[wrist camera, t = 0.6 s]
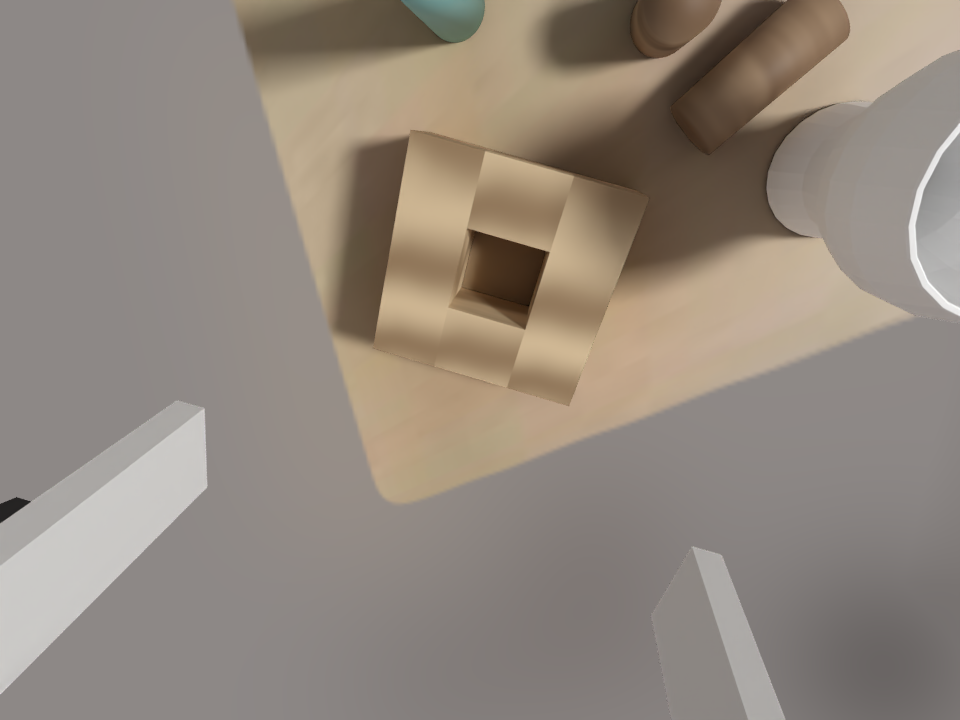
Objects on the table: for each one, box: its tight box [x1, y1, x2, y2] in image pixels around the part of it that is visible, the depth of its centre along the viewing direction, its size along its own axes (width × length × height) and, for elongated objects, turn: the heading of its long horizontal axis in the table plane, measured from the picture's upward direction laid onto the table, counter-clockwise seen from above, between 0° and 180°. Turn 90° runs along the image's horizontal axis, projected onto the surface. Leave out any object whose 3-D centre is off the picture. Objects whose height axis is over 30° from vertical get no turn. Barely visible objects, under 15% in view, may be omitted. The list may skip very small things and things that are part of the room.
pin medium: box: [671, 0, 850, 155], centre depth 27 cm, size 4×4×8 cm
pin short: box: [630, 0, 722, 58], centre depth 26 cm, size 4×4×5 cm
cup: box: [766, 50, 960, 323], centre depth 23 cm, size 11×11×15 cm
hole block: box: [373, 130, 650, 406], centre depth 32 cm, size 14×14×5 cm
